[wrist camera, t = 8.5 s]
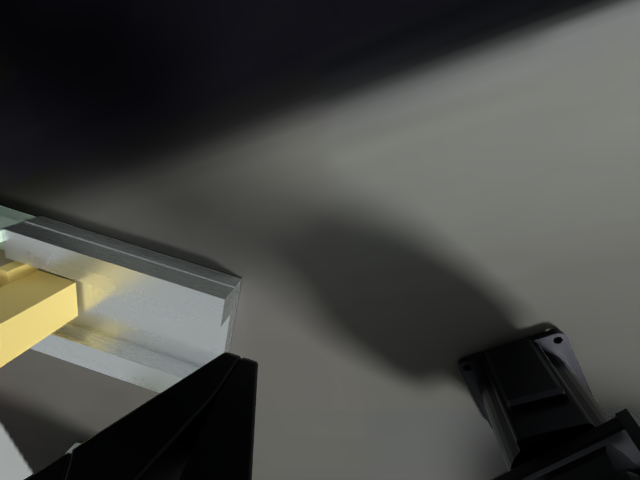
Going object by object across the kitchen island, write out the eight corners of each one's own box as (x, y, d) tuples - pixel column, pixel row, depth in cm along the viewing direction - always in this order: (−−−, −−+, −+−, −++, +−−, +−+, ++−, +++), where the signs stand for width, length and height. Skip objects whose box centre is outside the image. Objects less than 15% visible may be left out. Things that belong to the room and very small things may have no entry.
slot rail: (241, 278, 22) (224, 298, 20) (224, 382, 26) (207, 409, 24) (41, 215, 24) (1, 227, 21) (52, 324, 27) (19, 345, 25)
